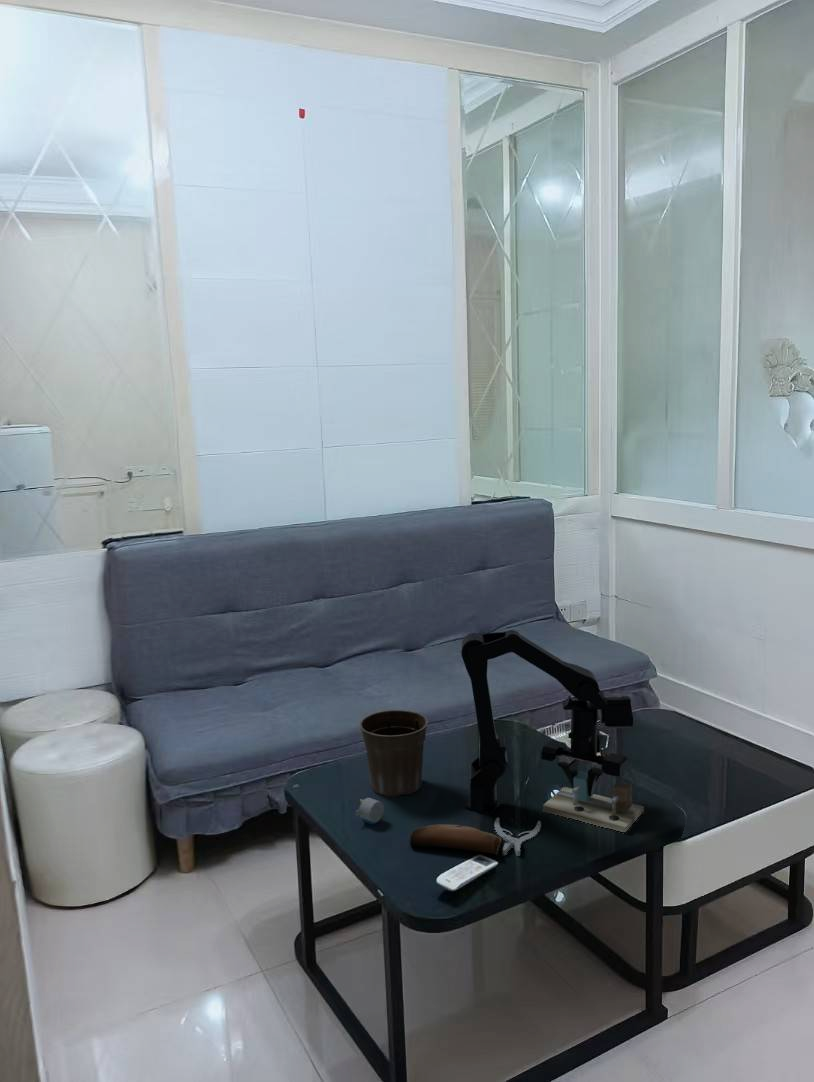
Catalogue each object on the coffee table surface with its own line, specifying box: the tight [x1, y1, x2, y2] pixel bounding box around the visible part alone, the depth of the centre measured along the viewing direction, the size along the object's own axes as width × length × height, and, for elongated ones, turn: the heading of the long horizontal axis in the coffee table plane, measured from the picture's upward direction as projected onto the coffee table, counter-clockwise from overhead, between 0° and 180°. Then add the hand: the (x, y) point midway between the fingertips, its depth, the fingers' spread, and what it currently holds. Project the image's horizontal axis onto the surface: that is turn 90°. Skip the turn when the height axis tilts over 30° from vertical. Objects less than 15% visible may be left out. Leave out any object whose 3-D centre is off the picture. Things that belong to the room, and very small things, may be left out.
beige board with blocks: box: [542, 780, 645, 833], centre depth 189 cm, size 11×19×7 cm, turn 55°
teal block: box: [572, 770, 594, 805], centre depth 190 cm, size 7×3×5 cm, turn 145°
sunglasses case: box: [409, 823, 503, 856], centre depth 177 cm, size 18×7×7 cm, turn 74°
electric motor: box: [355, 797, 385, 826], centre depth 189 cm, size 7×5×5 cm
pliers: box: [493, 817, 542, 857], centre depth 179 cm, size 10×2×15 cm
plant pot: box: [359, 709, 429, 798], centre depth 204 cm, size 16×16×16 cm
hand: (583, 793), depth 192 cm, fingers closed on teal block, 3 cm apart
